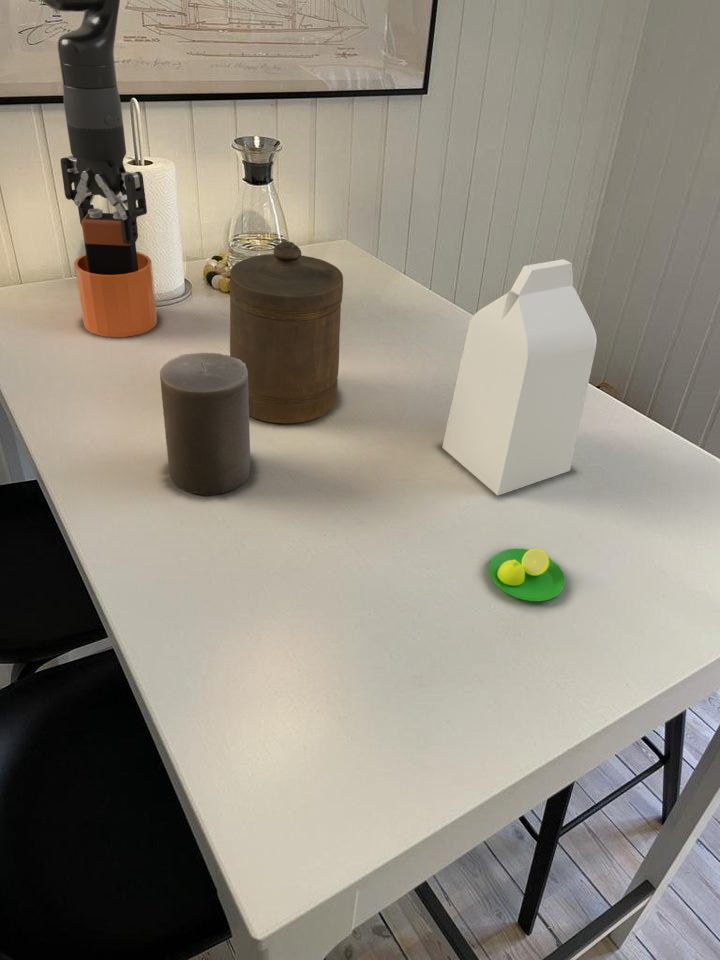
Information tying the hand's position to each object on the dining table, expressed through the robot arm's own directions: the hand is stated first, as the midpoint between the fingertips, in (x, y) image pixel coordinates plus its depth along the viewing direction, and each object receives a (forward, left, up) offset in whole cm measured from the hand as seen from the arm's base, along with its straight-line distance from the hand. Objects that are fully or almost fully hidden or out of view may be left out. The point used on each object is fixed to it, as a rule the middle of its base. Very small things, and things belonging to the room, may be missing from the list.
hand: (109, 236), depth 114 cm
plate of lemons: (+77, -20, -14) cm, 81 cm away
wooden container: (+35, -4, -14) cm, 38 cm away
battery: (0, 0, -6) cm, 6 cm away
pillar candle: (+38, -24, -14) cm, 47 cm away
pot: (0, 0, -14) cm, 14 cm away
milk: (+67, 0, -14) cm, 69 cm away
